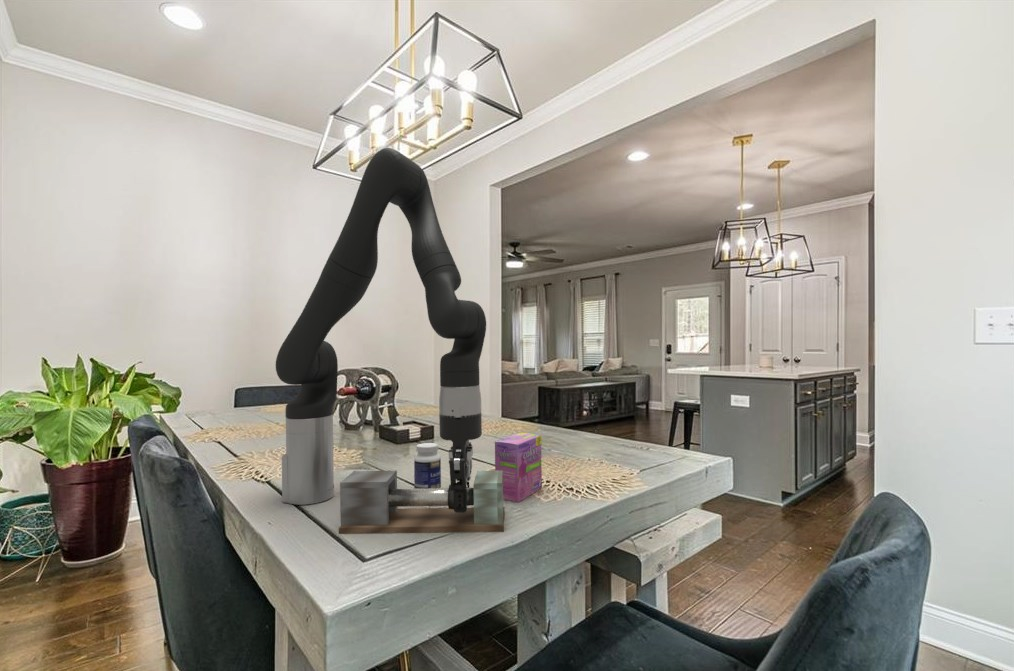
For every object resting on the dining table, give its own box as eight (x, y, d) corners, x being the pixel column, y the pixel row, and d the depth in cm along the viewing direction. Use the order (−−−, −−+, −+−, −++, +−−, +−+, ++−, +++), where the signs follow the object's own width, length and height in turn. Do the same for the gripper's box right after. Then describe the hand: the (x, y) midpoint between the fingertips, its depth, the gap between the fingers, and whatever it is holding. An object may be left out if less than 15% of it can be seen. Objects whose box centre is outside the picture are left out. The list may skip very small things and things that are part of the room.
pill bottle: (435, 495, 99) (434, 448, 99) (410, 494, 100) (409, 447, 101) (444, 487, 105) (443, 442, 105) (420, 485, 106) (419, 441, 106)
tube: (386, 513, 82) (386, 489, 82) (392, 505, 86) (392, 482, 86) (489, 512, 82) (488, 488, 82) (490, 504, 86) (490, 481, 86)
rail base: (338, 533, 80) (338, 484, 80) (356, 514, 89) (355, 469, 89) (503, 531, 79) (502, 481, 80) (504, 512, 88) (503, 467, 89)
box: (518, 503, 94) (517, 443, 94) (494, 498, 97) (493, 440, 97) (543, 488, 102) (542, 434, 103) (520, 485, 105) (519, 432, 106)
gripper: (445, 405, 92) (446, 494, 91) (432, 417, 77) (434, 522, 77) (483, 405, 91) (485, 493, 91) (478, 416, 77) (480, 521, 77)
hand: (462, 506), depth 84 cm, fingers closed on tube, 4 cm apart
